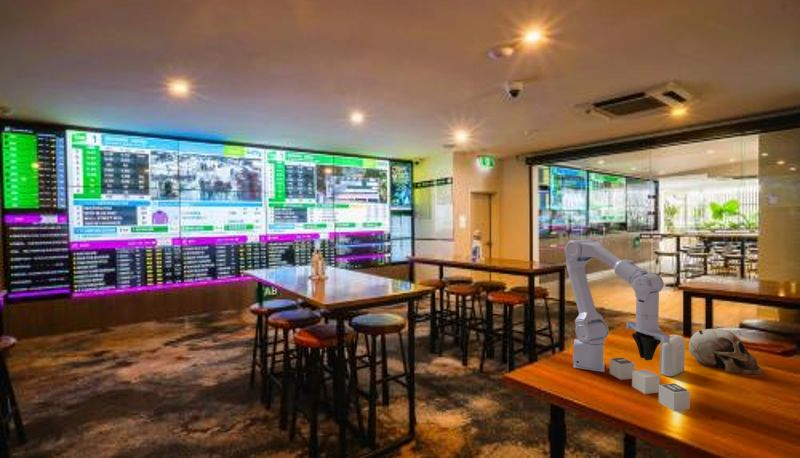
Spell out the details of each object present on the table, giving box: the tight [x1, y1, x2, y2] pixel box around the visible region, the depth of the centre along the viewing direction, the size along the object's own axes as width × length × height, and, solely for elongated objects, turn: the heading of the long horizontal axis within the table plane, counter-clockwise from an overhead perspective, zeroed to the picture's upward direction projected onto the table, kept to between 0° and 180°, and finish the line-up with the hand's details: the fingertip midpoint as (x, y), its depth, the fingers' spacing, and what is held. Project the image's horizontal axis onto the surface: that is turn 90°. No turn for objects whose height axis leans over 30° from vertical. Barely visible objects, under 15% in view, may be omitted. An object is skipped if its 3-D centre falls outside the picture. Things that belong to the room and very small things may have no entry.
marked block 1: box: [609, 357, 635, 380], centre depth 130 cm, size 5×5×5 cm
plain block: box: [631, 369, 661, 395], centre depth 120 cm, size 5×5×5 cm
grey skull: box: [688, 328, 764, 376], centre depth 137 cm, size 16×17×13 cm
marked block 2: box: [658, 383, 691, 412], centre depth 110 cm, size 5×5×5 cm
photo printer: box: [659, 334, 686, 377], centre depth 132 cm, size 10×4×12 cm, turn 123°
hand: (646, 358), depth 120 cm, fingers closed
